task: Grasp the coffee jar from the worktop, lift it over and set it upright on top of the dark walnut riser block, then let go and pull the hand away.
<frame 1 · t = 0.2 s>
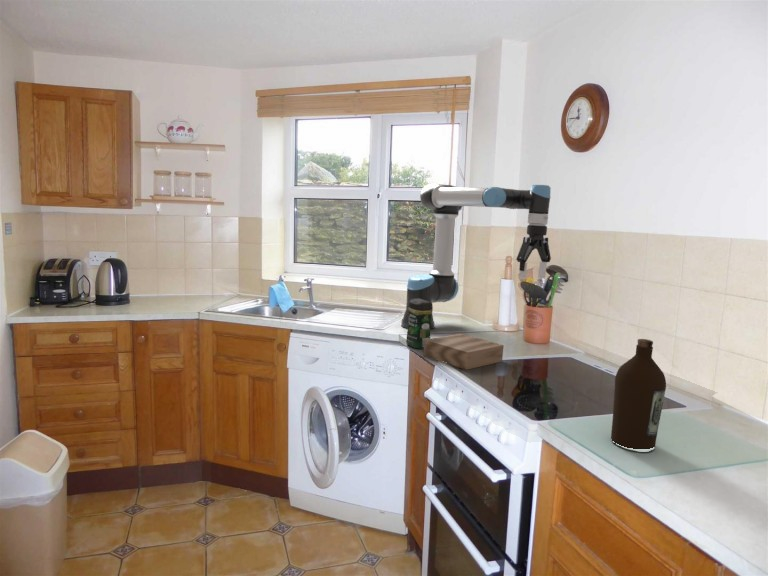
hand: (532, 278, 211), 28 cm above the worktop, fingers open, 13 cm apart
olive oil: (632, 445, 124), on the worktop
walnut riser: (462, 358, 192), on the worktop
coffee jar: (417, 346, 206), on the worktop
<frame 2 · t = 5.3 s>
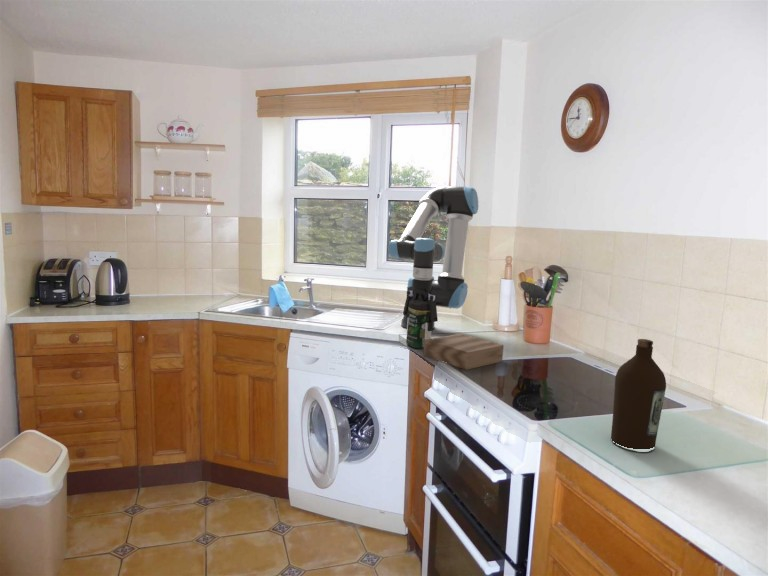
hand: (418, 336, 205), 4 cm above the worktop, fingers closed on coffee jar, 9 cm apart
coffee jar: (417, 346, 206), on the worktop, touching gripper
everything else where it was.
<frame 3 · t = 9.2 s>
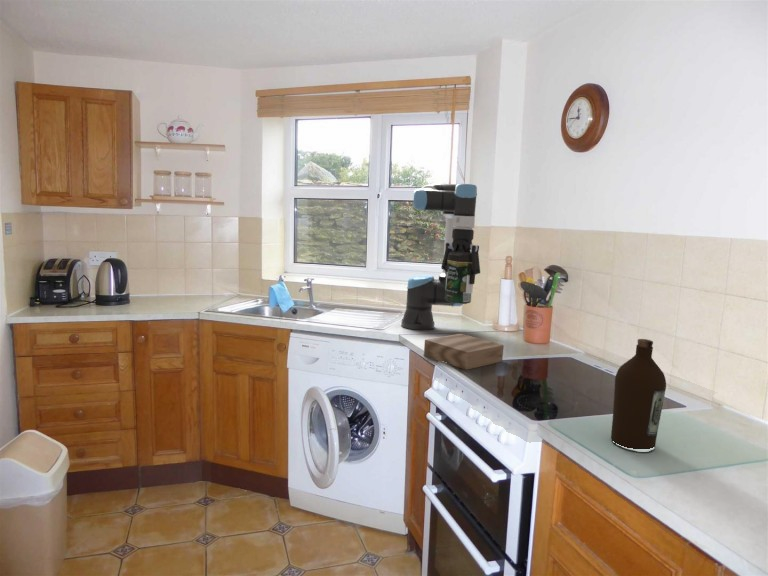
hand: (458, 291, 191), 24 cm above the worktop, fingers closed on coffee jar, 9 cm apart
coffee jar: (457, 302, 191), point 20 cm above the worktop, touching gripper
everything else where it was.
when the fingers open (11 cm above the worktop, at t = 12.7 s): coffee jar drops 1 cm, resting on walnut riser.
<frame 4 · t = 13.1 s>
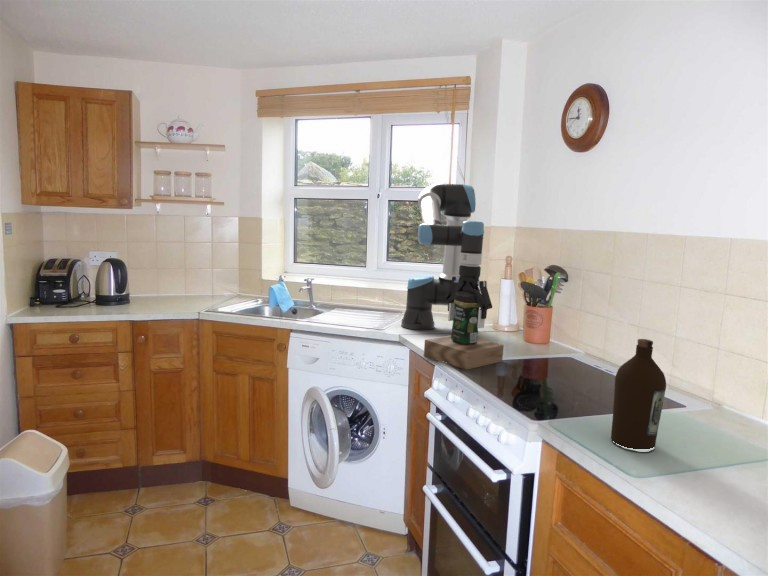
hand: (465, 324, 190), 13 cm above the worktop, fingers open, 13 cm apart
coffee jar: (463, 342, 191), point 6 cm above the worktop, touching walnut riser
everything else where it was.
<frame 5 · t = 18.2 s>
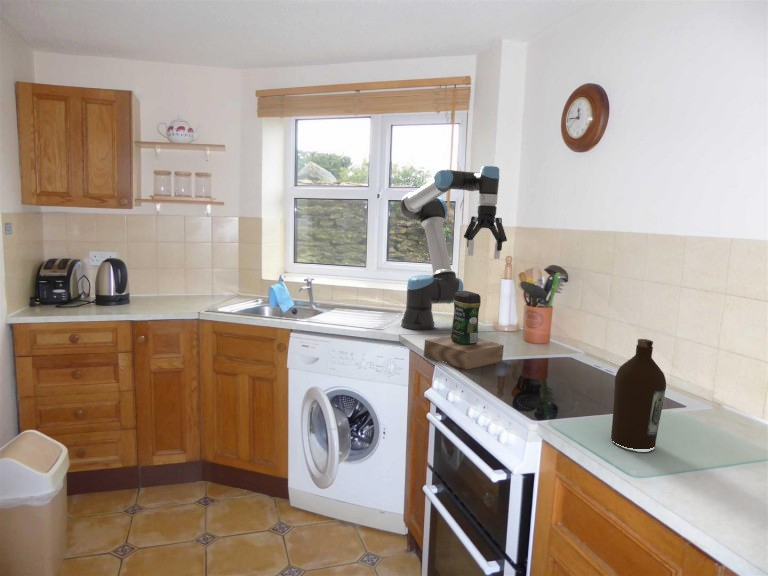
hand: (483, 257, 219), 35 cm above the worktop, fingers open, 13 cm apart
nothing on the worktop moved.
at the end: coffee jar inside the target area on the walnut riser (0.1 cm from its centre), point 5.8 cm above the walnut riser's base; coffee jar tilted 0°; the gripper is holding nothing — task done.
